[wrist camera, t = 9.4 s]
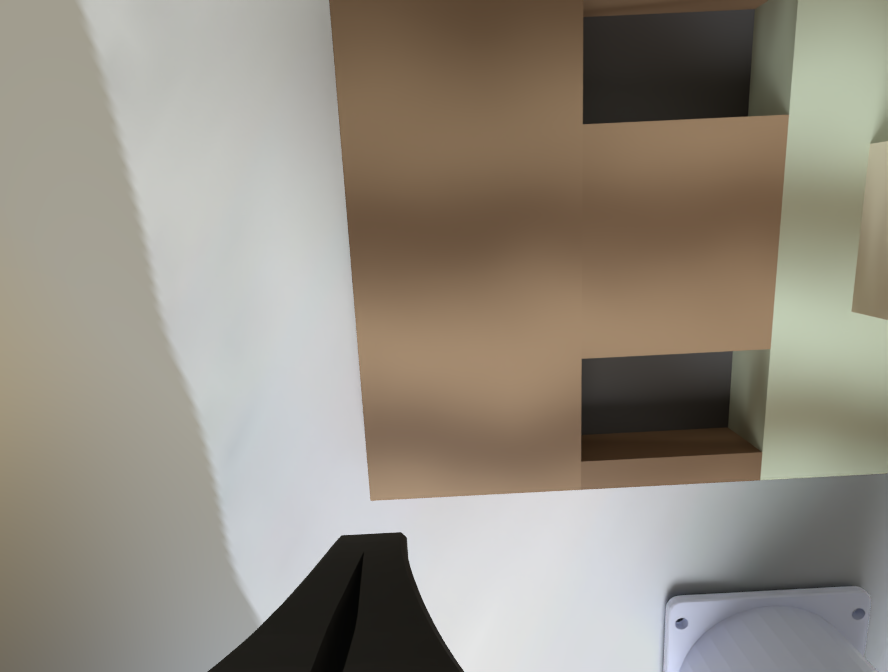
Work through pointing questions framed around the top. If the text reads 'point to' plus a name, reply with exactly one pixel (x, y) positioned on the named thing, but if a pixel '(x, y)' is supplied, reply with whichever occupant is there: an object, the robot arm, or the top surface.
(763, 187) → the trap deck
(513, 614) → the top surface
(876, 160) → the cream block
